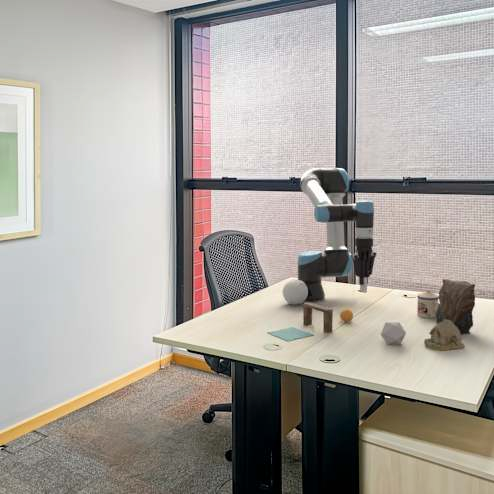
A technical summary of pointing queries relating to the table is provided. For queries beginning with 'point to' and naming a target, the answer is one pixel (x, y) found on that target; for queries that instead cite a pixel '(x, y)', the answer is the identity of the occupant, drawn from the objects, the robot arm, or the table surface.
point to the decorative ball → (295, 292)
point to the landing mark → (290, 334)
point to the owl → (456, 304)
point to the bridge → (326, 315)
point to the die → (393, 333)
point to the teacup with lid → (427, 304)
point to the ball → (346, 315)
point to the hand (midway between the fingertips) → (363, 291)
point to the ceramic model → (444, 337)
